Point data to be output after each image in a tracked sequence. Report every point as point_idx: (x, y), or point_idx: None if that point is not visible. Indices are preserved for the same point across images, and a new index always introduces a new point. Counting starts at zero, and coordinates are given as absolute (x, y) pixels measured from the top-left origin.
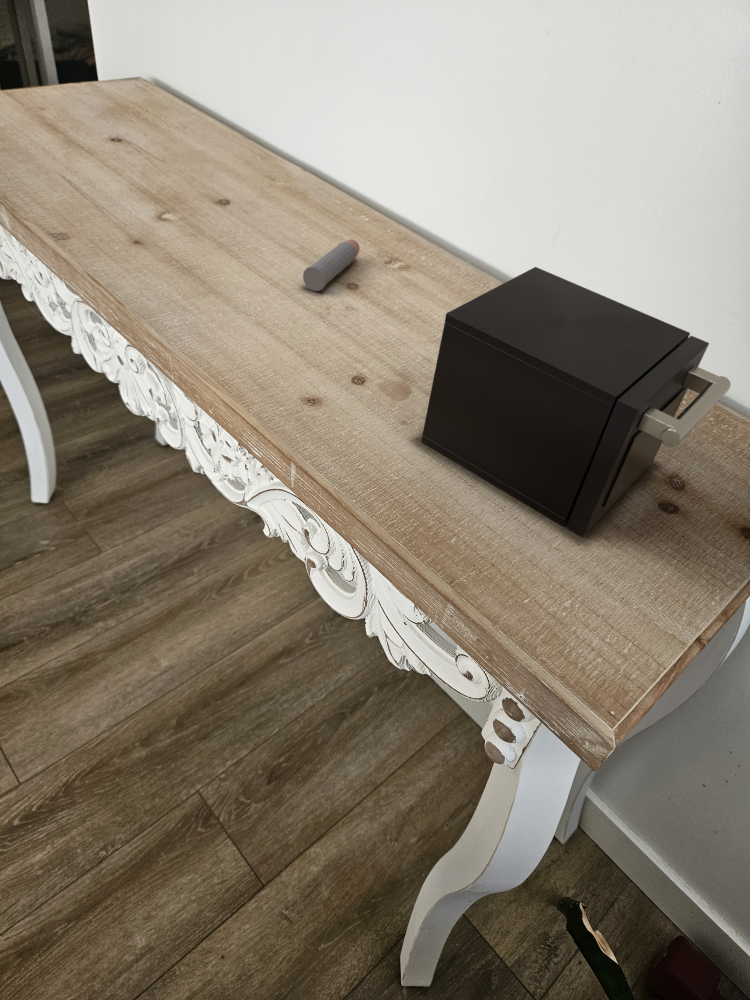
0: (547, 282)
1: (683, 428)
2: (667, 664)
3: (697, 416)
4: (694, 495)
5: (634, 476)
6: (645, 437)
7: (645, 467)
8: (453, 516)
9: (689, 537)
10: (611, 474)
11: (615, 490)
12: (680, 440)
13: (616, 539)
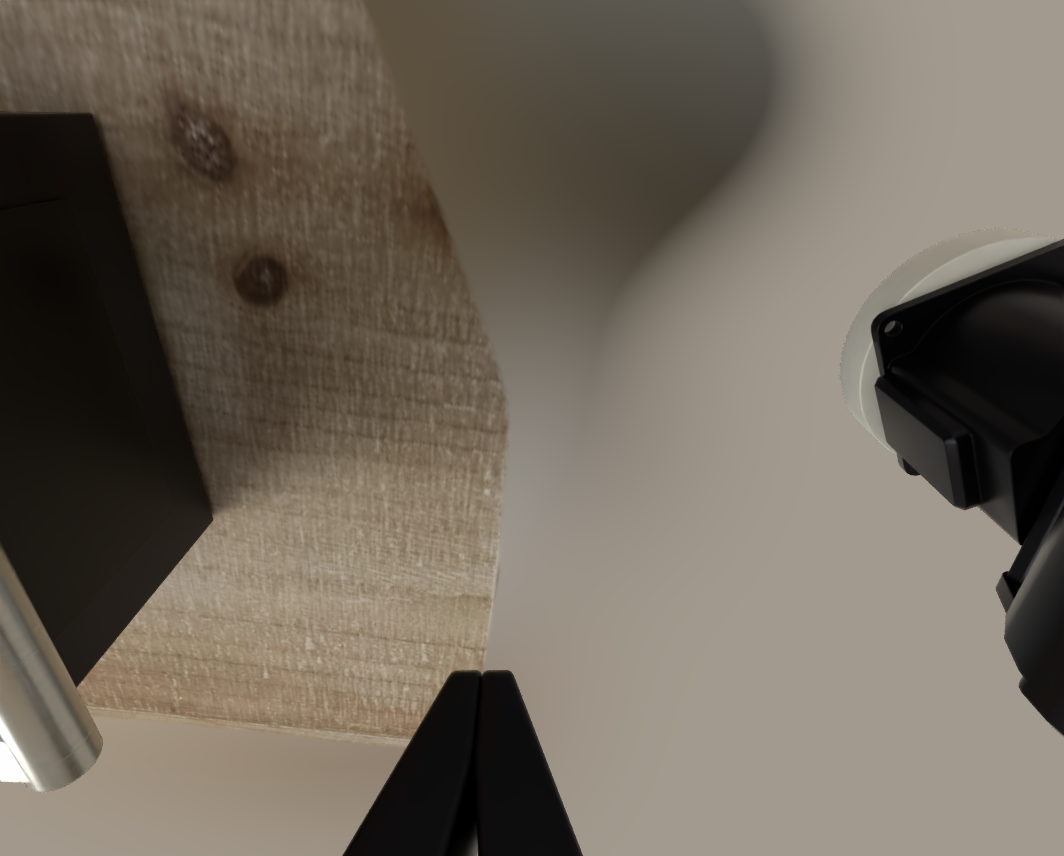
0: None
1: (43, 761)
2: (483, 642)
3: (1, 667)
4: (273, 161)
5: (121, 307)
6: (7, 536)
7: (103, 200)
8: None
9: (359, 348)
10: (100, 644)
11: (144, 503)
12: (89, 768)
13: (259, 471)
